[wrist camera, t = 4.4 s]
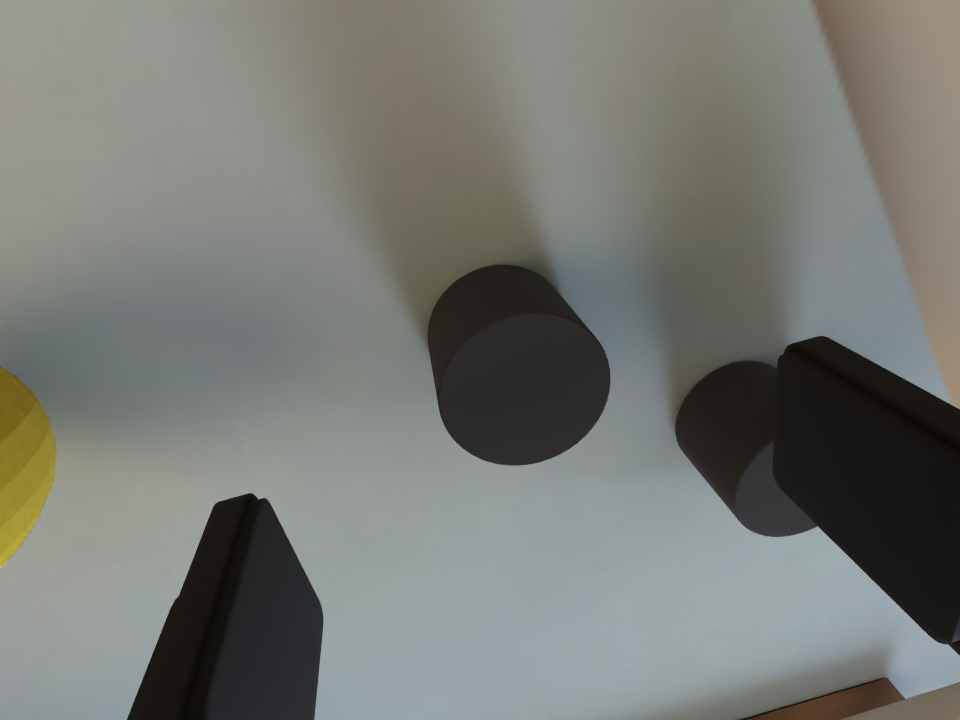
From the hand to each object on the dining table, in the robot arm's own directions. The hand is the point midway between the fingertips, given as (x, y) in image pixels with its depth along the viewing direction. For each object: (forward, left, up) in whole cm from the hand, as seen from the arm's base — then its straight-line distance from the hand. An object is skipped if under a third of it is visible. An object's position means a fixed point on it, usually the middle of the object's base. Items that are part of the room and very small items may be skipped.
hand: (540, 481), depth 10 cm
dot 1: (0, 0, -6) cm, 6 cm away
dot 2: (-7, +5, -6) cm, 11 cm away
